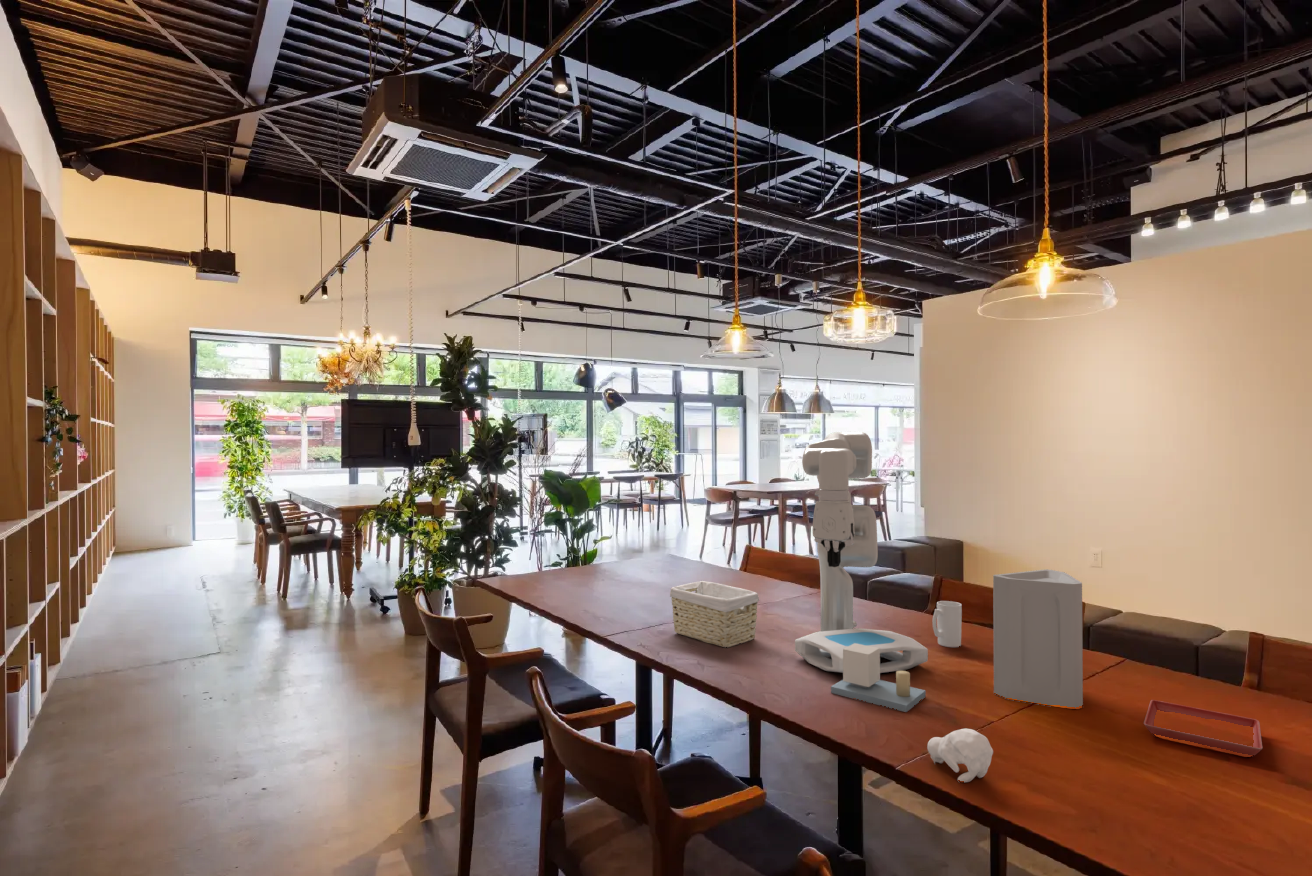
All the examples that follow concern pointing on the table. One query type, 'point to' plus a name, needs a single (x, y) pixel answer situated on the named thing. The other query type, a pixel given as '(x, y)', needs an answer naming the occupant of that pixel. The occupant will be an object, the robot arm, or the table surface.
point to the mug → (948, 623)
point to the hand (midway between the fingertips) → (834, 566)
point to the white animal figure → (963, 752)
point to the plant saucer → (1205, 714)
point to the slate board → (884, 692)
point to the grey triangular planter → (1038, 637)
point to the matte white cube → (861, 664)
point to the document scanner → (840, 639)
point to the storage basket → (714, 612)
